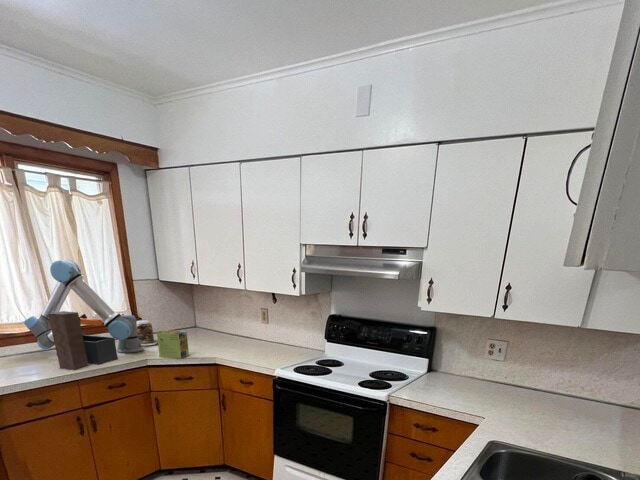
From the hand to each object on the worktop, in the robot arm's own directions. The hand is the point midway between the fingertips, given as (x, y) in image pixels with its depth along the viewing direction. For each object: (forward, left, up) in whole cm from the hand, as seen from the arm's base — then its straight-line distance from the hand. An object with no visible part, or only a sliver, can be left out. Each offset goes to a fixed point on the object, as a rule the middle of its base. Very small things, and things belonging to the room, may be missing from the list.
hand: (82, 316), depth 248 cm
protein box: (-44, +21, -26) cm, 55 cm away
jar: (-49, -33, -26) cm, 64 cm away
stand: (+13, +13, -26) cm, 31 cm away
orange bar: (0, +1, -4) cm, 4 cm away
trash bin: (-1, +1, -26) cm, 26 cm away
